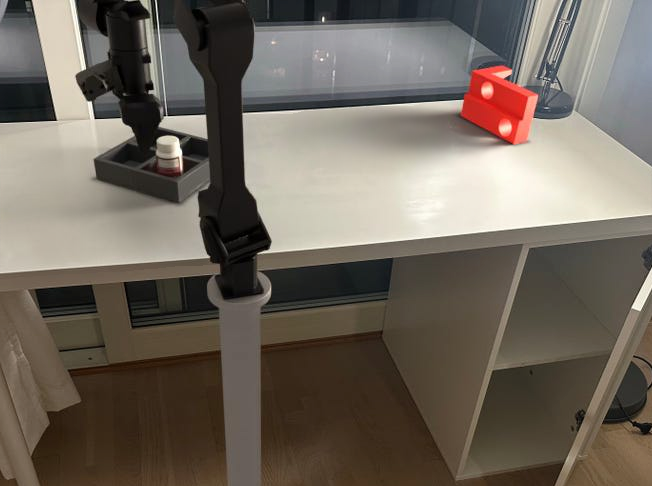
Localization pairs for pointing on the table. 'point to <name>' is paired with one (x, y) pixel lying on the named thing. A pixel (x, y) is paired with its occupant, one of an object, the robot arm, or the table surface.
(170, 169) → the pill bottle
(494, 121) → the bracket
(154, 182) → the organiser
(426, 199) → the table surface
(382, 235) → the table surface
